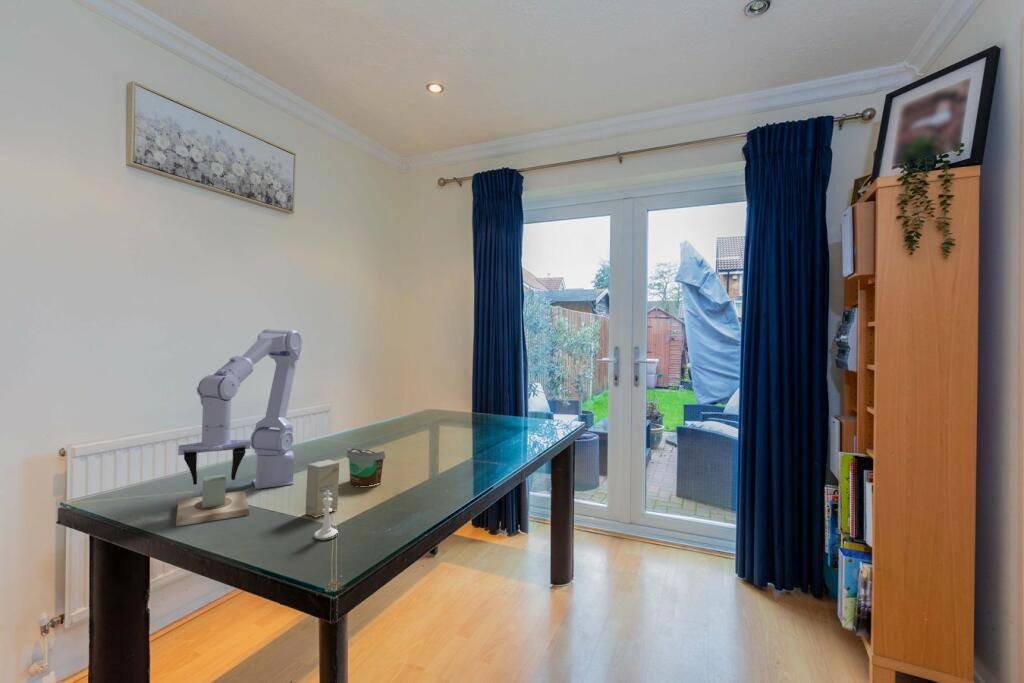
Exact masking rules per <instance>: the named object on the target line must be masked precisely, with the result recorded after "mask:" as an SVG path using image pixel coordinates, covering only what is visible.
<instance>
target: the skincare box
mask: <svg viewBox="0 0 1024 683" xmlns="http://www.w3.org/2000/svg"><path fill="white" fill-rule="evenodd" d="M306 473H307V474H306V492H305V494H306V496H305V514H306V515H308V516H310V515H312V516H311V517H313V516H318V515H322V514H325V513H323V512H322V510H323V509H324V508H325V507H324V503H323V499H324V498H326V495H324V493H327V490H330V492H329V493H332V496H329V498H332V499H333V500H332V503H331V506H330V508H332V511H334V510H337V511H338V504H339V503H338V501H339V500H338V499H339V477H340V462H339V461H336V460H332V459H325V460H319V461H316V462H312V463H307V471H306Z"/></svg>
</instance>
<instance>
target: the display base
mask: <svg viewBox="0 0 1024 683" xmlns="http://www.w3.org/2000/svg"><path fill="white" fill-rule="evenodd" d="M244 515H245V516H249V515H250V506H249V502H248V498H247V494H246V492H245V490H237V491H231V492H226V493H225V505H218V506H211V507H204V508H202V496H201V495H200V496H194V497H192V496H191V497H186V498H178V501H177V512H176V522H175V524H176V526H175V527H181V526H186V525H193V524H200V523H206V522H207V523H208V522H213V521H218V520H220V521H221V520H224V519H232V518H237V517H244Z"/></svg>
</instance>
